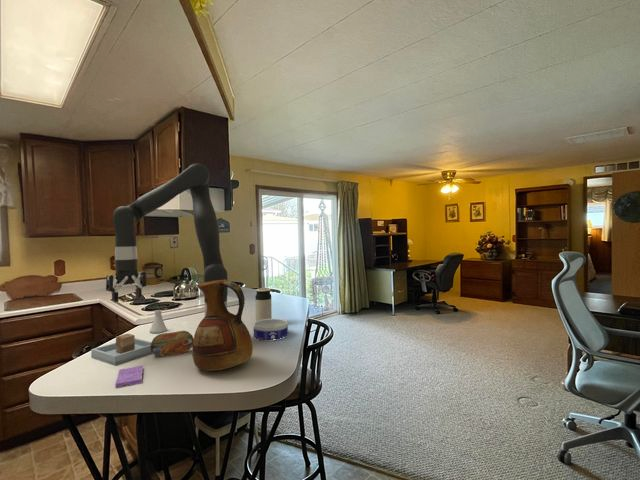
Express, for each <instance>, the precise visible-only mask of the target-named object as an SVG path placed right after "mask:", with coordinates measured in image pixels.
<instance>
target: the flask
mask: <svg viewBox="0 0 640 480" xmlns="http://www.w3.org/2000/svg"><path fill="white" fill-rule="evenodd" d="M153 312H154V317H153V322H152V324H151V327H150V330H149V333H151V334H162V333H164V332H165V333H166V332H167V331H168V328H167V326H166V324H165V322H164V319H163V316H162V313H163V310H161V309H156V310H153Z"/></svg>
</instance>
